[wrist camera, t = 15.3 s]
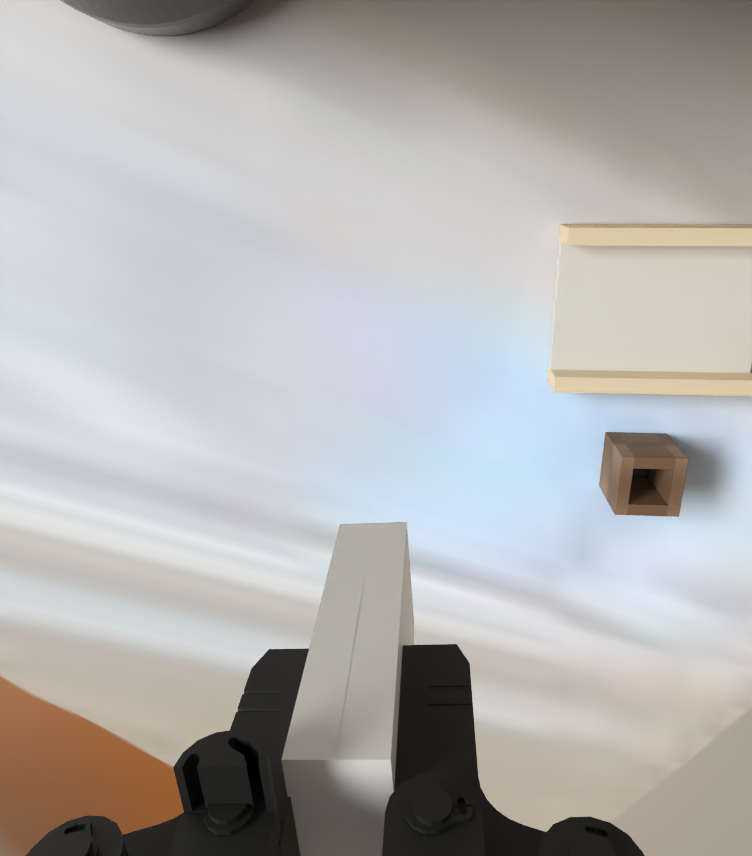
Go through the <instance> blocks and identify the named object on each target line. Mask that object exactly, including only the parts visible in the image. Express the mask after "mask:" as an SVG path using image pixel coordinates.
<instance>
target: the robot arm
mask: <svg viewBox="0 0 752 856" xmlns="http://www.w3.org/2000/svg"><path fill="white" fill-rule="evenodd" d="M61 1H62V2H64V3H65V4H67V5H69V6H71V7H73V8H74V9H76V10H78V11H80V12H82V13H84V14H87V15H89V16H91V17H93V18H95V19H97V20H99V21H102V22H104V23H106V24H108V25H111V26H114V27H116V28H119V29H123V30H126V31H130V32H134V33H139V34H147V35H161V36H167V35H180V34H187V33H192V32H196V31H200V30H203V29H206V28H209V27H212V26H214V25H216V24H219V23H221V22H223V21H225V20H227V19H229V18H230V17H232V16H234V15H235V14H237V13H238V12H240V11H242V10H243V9H244V8H246V7H247V6H248V5H249V4H251V3H252V2H253V1H254V0H61ZM413 637H414V617H413V603H412V589H411V576H410V562H409V548H408V535H407V522H394V523H366V524H340V527H339V531H338V535H337V539H336V543H335V547H334V551H333V555H332V559H331V563H330V567H329V571H328V575H327V579H326V583H325V587H324V591H323V595H322V599H321V603H320V607H319V611H318V615H317V619H316V623H315V627H314V631H313V635H312V639H311V643H310V647H309V649H269V650H268V651H267V652H266V653H265V655H264V656H263V657H262V658H261V659H260V660H259V661H258V662H257V663H256V664H255V665H254V667H253V668H252V669H251V672H250V675H249V678H248V681H247V683H246V686H245V689H244V694H243V695H242V698H241V700H240V703H239V706H238V712H236V715H235V717H234V720H233V723H232V726H231V729H230V731H224V732H218V733H214V734H212V735H209V736H207V737H205V738H203V739H200V740H198V741H197V742H195V743H194V744H193V745H192V746H191V747H189V748H188V749H187V750H186V751H184V752H183V753H182V755H181V757H180V758H179V760H178V761H177V763H176V764H175V766H174V767H173V768H174V772H175V776H176V780H177V784H178V788H179V793H180V797H181V801H182V805H183V809H184V813H182V814H181V815H179V816H177V817H176V818H174V819H172V820H169V821H167V822H164V823H162V824H159V825H155V826H152V827H149V828H145V829H141V830H138V831H134V832H131V833H128V834H124V835H122V833H121V831H120V829H119V827H118V825H117V823H115V822H113V821H111V820H110V819H108V818H106V817H104V816H103V817H102V816H84V817H81V818H77V819H74V820H70V821H67V822H66V823H64V824H62V825H60V826H59V827H57V828H55V829H54V830H52V831H50V832H49V833H48V834H47V835H45V836H44V837H43V838H42V839H41V840H40V841H39V842H38V843H37V844H36V845H35V846H34V847H33V848H32V849H31V850H30V851H29V853H28V854H27V855H26V856H644V854H643V852H642V851H641V850H640V849H639V847H638V846H637V845H636V844H635V842H634V841H633V840H632V839H631V837H629V835H628V834H626V833H625V832H623V831H622V830H620V829H619V828H617V827H616V826H614V825H613V824H611V823H609V822H606V821H602V820H599V819H596V818H592V817H570V818H567V819H565V820H563V821H560V822H558V823H556V824H553V826H552V827H551V828H550V829H549V830H548V831H547V832H544V831H540V830H537V829H534V828H531V827H528V826H524V825H522V824H519V823H517V822H515V821H513V820H510V819H508V818H507V817H505V816H504V815H503V814H501V813H500V812H498V811H497V810H496V809H495V808H494V807H493V806H492V805H491V804H490V803H489V801H488V800H487V799H486V797H485V795H484V793H483V791H482V790H481V787H480V783H479V778H478V769H477V756H476V743H475V730H474V717H473V704H472V691H471V677H470V664H469V662H468V660H467V659H466V658H465V656H464V655H463V653H462V652H461V650H460V649H459V647H458V646H457V644H448V645H413Z"/></svg>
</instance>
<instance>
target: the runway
mask: <svg viewBox="0 0 752 856" xmlns="http://www.w3.org/2000/svg"><path fill="white" fill-rule="evenodd" d="M547 381H548V383H549V385H550V386H551V388H552V390H553V392H564V393H615V394H666V395H717V396H752V225H611V224H561V225H560V236H559V248H558V259H557V271H556V282H555V294H554V305H553V317H552V328H551V340H550V351H549V363H548V374H547Z"/></svg>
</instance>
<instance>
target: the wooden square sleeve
mask: <svg viewBox="0 0 752 856" xmlns="http://www.w3.org/2000/svg"><path fill="white" fill-rule="evenodd" d="M687 465H688V458H687V457H686V455H685V454H684V453H683V452H682V451H681V450H680V449H679V448H678V447H677V445H676V444H675V443H674V442H673V441H672V440H671V439H670V438H669V437H668V435H667V434H655V433H612V432H606V434H605V442H604V451H603V459H602V467H601V476H600V484H599V486H600V488H601V490H602V492H603V493H604V495H605V497H606V499H607V501H608V503H609V505H610V506H611V508H612V510H613V512H614V514H615V515H646V516H678V517H679V513H680V507H681V501H682V495H683V489H684V483H685V477H686V471H687ZM633 468H635V469H649V475H648V477H632V474H633Z"/></svg>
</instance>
